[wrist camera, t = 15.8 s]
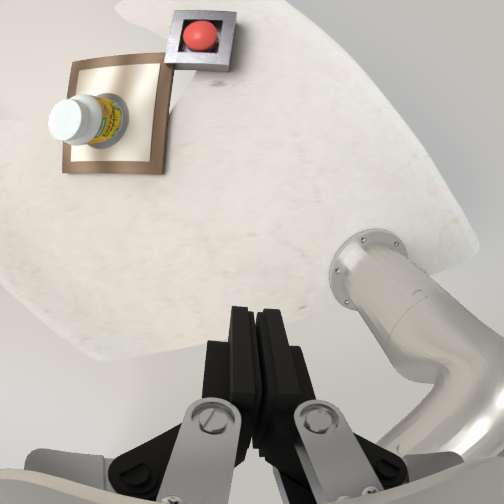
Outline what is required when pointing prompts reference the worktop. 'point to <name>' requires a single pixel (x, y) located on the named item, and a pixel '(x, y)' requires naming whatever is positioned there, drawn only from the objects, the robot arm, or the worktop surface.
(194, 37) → the button
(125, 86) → the brown bordered square board
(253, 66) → the worktop surface
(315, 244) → the worktop surface
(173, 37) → the button housing
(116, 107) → the supplement bottle
